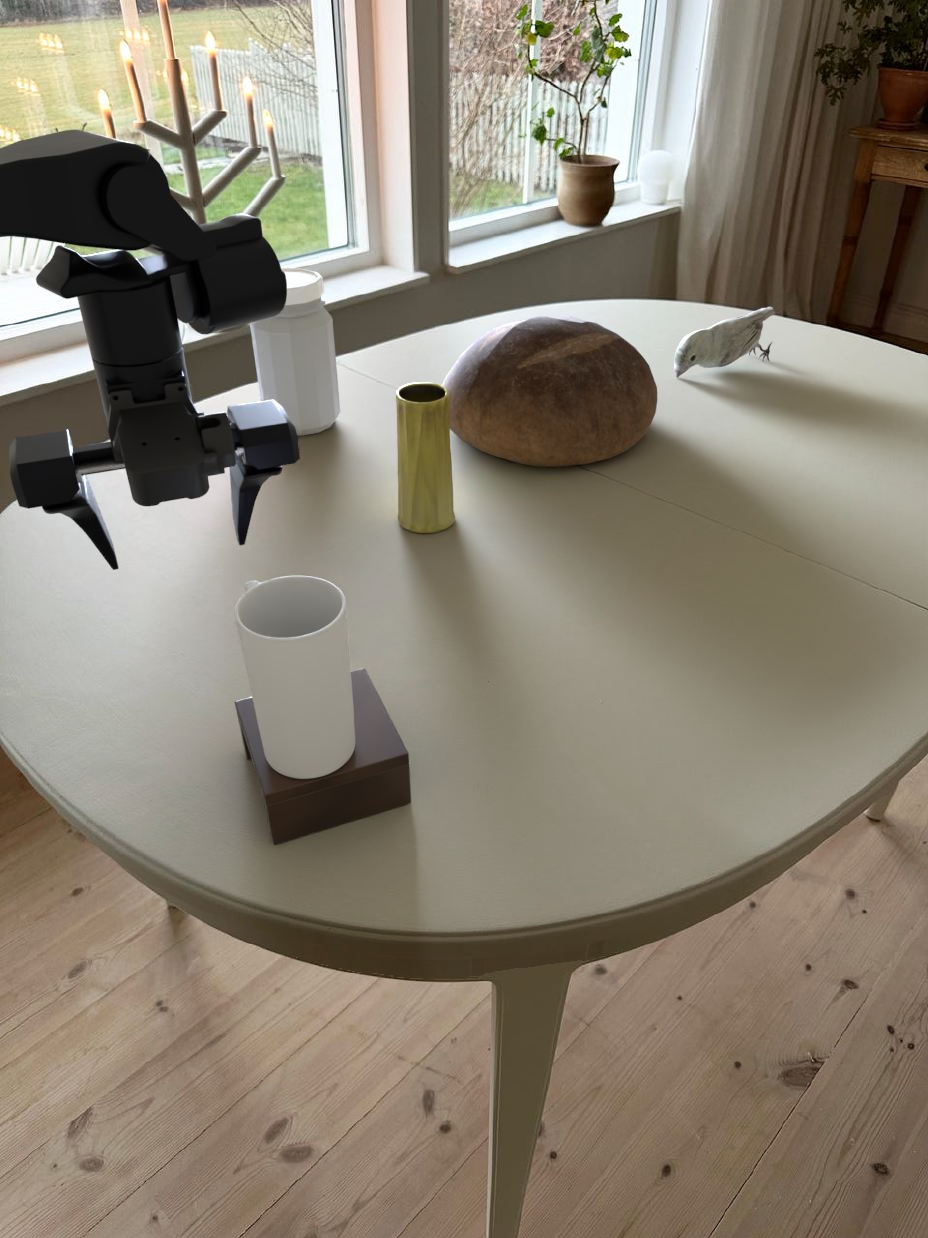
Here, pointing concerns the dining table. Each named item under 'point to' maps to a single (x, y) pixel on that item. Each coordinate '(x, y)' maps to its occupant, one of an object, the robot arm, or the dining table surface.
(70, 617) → the dining table surface
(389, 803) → the wooden box
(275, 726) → the mug
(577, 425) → the bread
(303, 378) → the jar
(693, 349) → the decorative bird
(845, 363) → the dining table surface
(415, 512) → the vase
